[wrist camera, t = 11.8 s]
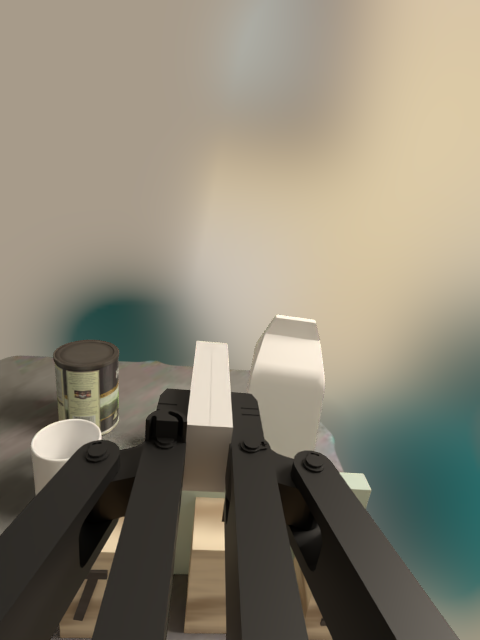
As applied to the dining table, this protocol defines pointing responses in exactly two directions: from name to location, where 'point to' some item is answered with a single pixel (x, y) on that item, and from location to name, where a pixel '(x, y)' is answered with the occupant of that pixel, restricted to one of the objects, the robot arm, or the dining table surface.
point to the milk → (289, 384)
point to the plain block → (206, 570)
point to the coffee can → (88, 382)
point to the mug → (59, 447)
